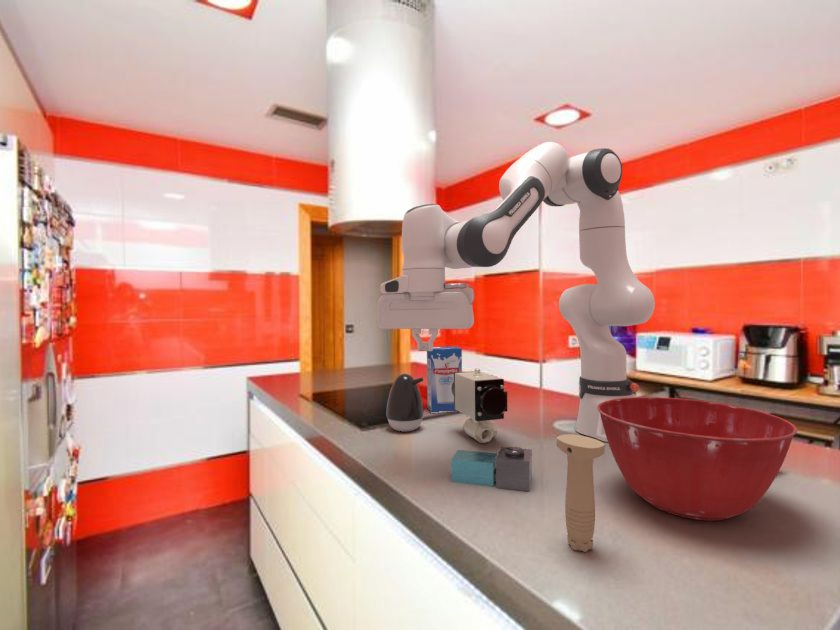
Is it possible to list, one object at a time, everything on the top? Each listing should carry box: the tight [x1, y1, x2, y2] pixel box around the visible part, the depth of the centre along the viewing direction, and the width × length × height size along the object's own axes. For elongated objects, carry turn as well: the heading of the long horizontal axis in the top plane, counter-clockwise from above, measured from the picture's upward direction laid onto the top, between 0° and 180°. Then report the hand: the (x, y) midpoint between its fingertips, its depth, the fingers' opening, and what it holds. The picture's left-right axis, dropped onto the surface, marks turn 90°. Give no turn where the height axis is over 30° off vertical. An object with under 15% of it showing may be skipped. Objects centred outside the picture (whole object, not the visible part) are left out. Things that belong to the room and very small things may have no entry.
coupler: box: [449, 446, 533, 493], centre depth 86 cm, size 16×7×6 cm, turn 72°
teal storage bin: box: [451, 449, 498, 487], centre depth 87 cm, size 8×6×4 cm
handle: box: [556, 433, 605, 553], centre depth 62 cm, size 5×6×15 cm
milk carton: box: [426, 346, 463, 413], centre depth 141 cm, size 10×6×20 cm, turn 102°
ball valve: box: [451, 368, 508, 444], centre depth 112 cm, size 18×8×18 cm, turn 19°
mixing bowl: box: [597, 396, 798, 521], centre depth 76 cm, size 28×28×16 cm
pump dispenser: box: [385, 373, 425, 433], centre depth 121 cm, size 10×10×15 cm
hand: (425, 350), depth 92 cm, fingers closed
